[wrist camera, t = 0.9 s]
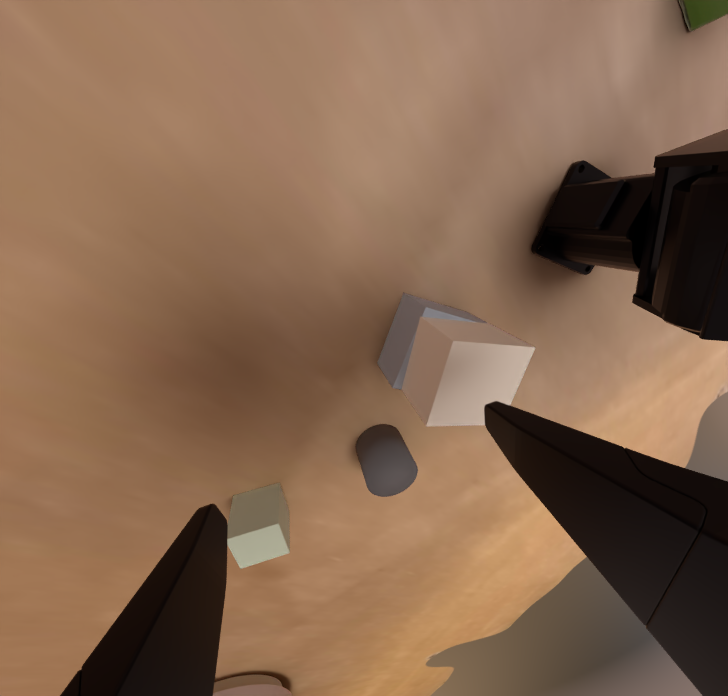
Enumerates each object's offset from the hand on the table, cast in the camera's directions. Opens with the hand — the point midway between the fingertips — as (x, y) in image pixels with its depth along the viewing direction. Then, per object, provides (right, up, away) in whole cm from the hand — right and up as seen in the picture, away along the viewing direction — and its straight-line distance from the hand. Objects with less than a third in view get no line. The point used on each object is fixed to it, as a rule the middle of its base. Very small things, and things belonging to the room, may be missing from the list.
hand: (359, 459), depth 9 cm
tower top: (+6, +3, +11) cm, 13 cm away
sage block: (-9, -11, +17) cm, 22 cm away
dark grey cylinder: (+1, -5, +18) cm, 19 cm away
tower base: (+5, +4, +14) cm, 16 cm away
